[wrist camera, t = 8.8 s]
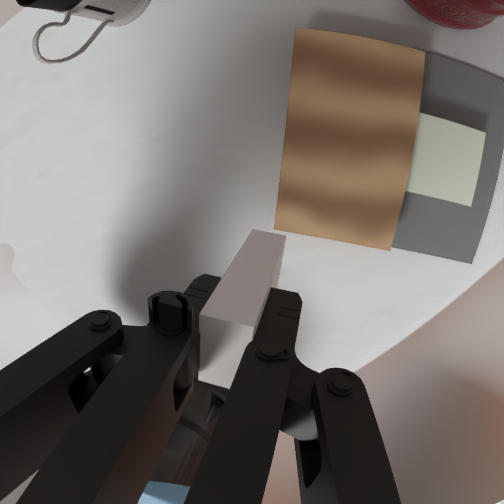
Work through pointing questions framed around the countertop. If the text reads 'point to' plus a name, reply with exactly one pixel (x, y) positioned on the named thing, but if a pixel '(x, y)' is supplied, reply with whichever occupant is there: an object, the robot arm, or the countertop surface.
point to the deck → (348, 137)
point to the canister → (459, 12)
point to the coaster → (445, 160)
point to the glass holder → (90, 6)
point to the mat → (497, 137)
